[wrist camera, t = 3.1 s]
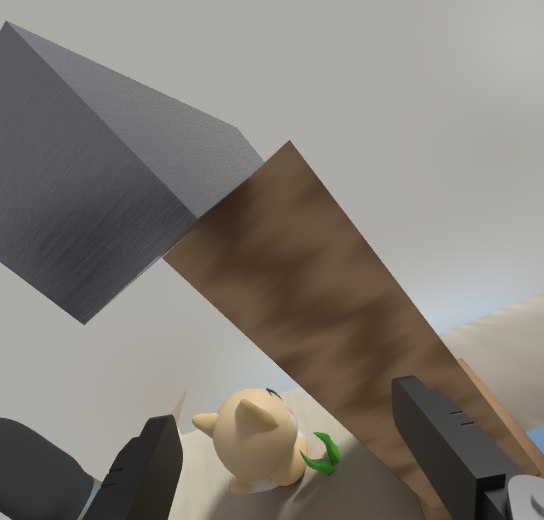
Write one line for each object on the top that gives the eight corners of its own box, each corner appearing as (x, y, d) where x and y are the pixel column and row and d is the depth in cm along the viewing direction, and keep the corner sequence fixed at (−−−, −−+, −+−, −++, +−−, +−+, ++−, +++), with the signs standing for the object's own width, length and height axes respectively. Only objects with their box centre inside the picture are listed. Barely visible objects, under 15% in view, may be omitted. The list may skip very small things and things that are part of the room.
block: (84, 325, 6) (-90, 193, 5) (235, 191, 25) (205, 158, 24) (197, 218, 5) (5, 20, 4) (265, 163, 24) (236, 127, 23)
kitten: (342, 413, 37) (273, 348, 33) (344, 505, 28) (252, 433, 24) (266, 431, 44) (201, 380, 40) (250, 509, 36) (166, 454, 31)
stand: (431, 525, 23) (146, 272, 14) (383, 402, 34) (206, 218, 25) (567, 482, 20) (308, 122, 11) (465, 362, 31) (295, 135, 22)
